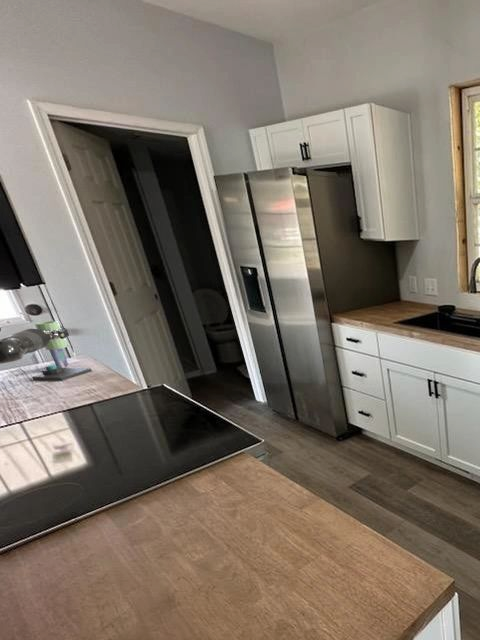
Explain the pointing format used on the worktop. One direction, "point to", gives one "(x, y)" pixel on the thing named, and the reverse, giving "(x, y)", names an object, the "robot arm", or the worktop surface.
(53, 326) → the cup
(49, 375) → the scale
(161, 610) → the worktop surface
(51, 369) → the tare button
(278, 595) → the worktop surface
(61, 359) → the french fries carton
